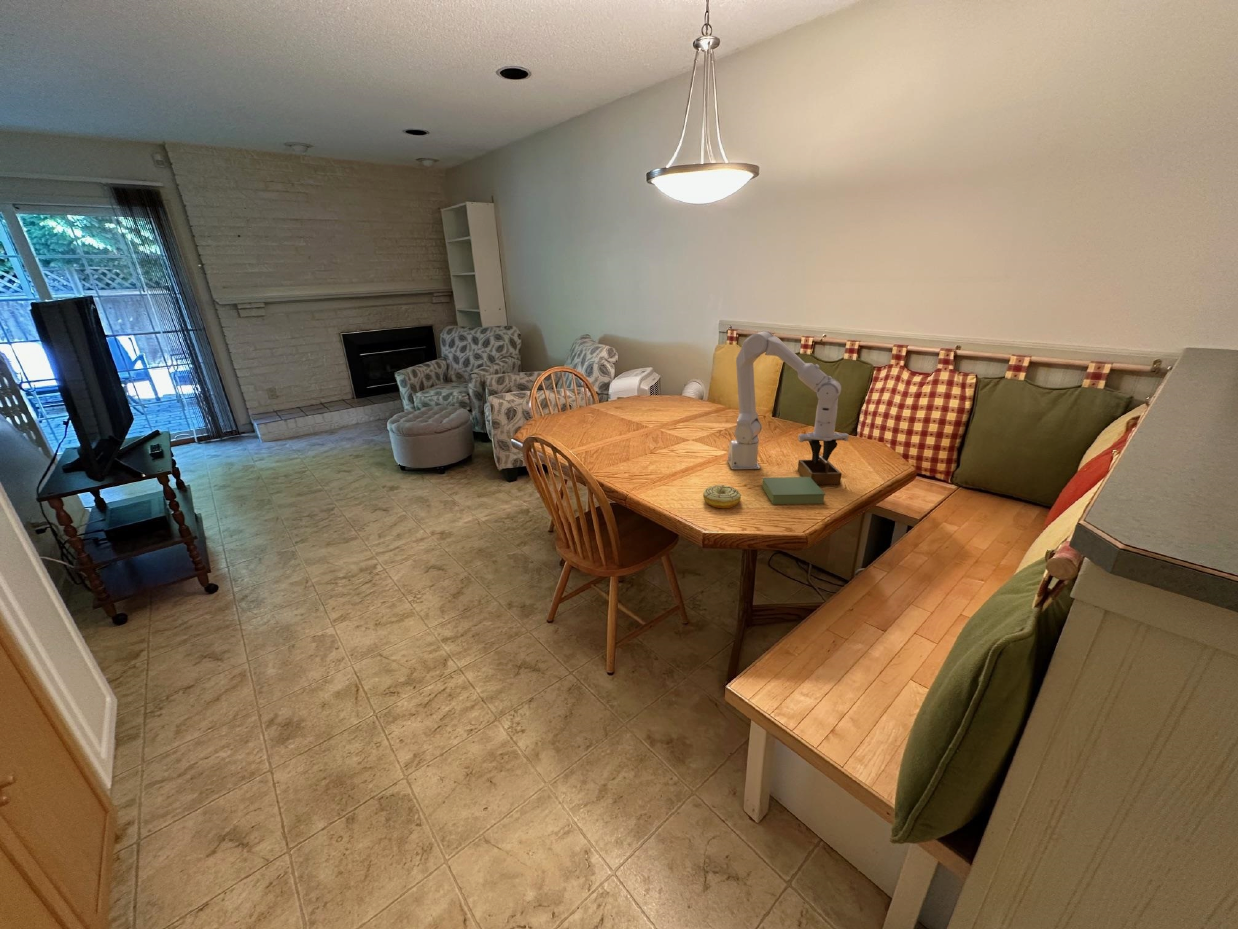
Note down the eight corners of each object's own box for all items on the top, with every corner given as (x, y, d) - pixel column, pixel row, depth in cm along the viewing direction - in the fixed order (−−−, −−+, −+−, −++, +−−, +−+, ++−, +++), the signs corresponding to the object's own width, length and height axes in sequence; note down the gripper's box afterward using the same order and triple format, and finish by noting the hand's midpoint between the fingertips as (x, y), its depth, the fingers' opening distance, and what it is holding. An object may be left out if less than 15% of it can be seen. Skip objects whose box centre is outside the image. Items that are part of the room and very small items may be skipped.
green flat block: (772, 504, 135) (773, 494, 134) (761, 486, 146) (762, 477, 145) (824, 503, 134) (825, 494, 133) (808, 485, 146) (809, 476, 145)
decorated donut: (743, 496, 140) (743, 485, 139) (737, 512, 131) (738, 500, 129) (707, 492, 144) (708, 480, 142) (699, 507, 134) (700, 495, 133)
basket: (810, 486, 146) (812, 463, 143) (797, 471, 157) (799, 449, 154) (840, 485, 145) (843, 462, 142) (825, 470, 156) (828, 449, 154)
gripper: (805, 425, 141) (800, 467, 146) (855, 424, 140) (848, 466, 145) (797, 418, 147) (793, 459, 152) (845, 417, 147) (839, 458, 152)
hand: (819, 462), depth 149 cm, fingers closed
